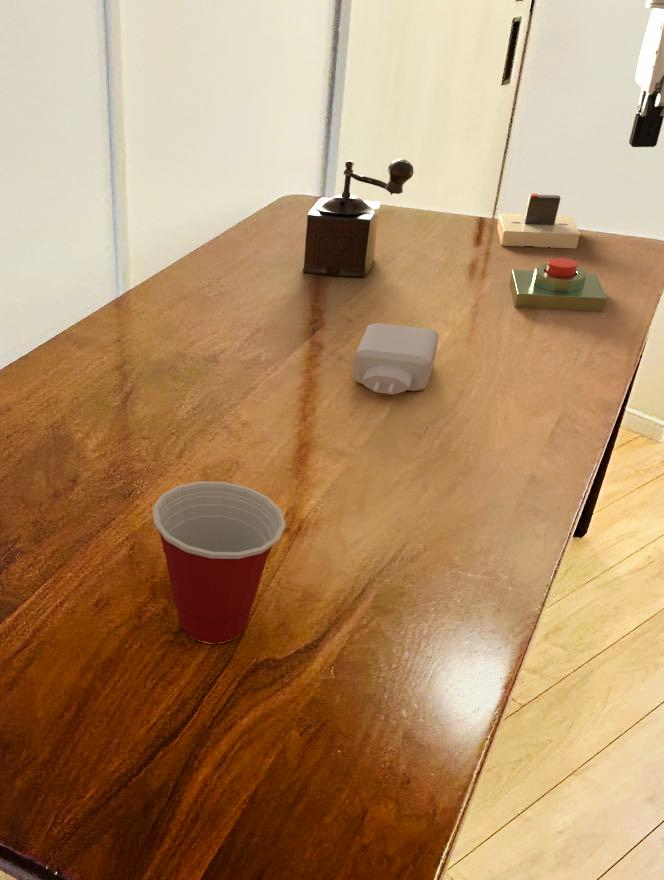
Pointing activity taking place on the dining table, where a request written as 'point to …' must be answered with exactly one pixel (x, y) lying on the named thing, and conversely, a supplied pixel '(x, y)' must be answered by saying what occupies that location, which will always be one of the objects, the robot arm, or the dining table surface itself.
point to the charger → (395, 358)
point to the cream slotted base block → (537, 232)
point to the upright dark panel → (542, 209)
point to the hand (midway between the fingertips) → (642, 145)
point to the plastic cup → (216, 553)
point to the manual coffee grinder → (348, 226)
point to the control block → (557, 291)
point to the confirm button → (561, 267)
